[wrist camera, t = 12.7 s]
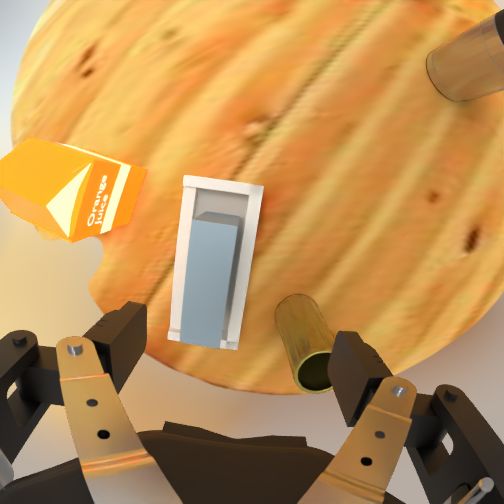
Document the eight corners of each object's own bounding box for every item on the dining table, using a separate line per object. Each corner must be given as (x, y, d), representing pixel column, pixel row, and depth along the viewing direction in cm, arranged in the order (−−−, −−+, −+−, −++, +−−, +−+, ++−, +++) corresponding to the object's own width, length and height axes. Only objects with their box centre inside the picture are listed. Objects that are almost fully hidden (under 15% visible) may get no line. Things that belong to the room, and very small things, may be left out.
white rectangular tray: (261, 186, 36) (263, 186, 32) (237, 334, 40) (237, 350, 36) (191, 176, 36) (184, 174, 31) (174, 324, 40) (167, 339, 35)
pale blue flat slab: (239, 216, 35) (237, 226, 26) (225, 309, 38) (219, 348, 28) (204, 211, 35) (189, 218, 25) (192, 304, 38) (177, 341, 28)
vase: (289, 286, 39) (313, 336, 25) (327, 305, 40) (363, 359, 26) (266, 323, 40) (277, 385, 26) (303, 340, 41) (327, 404, 27)
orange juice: (128, 224, 37) (36, 258, 17) (77, 203, 36) (-28, 220, 16) (148, 168, 35) (61, 151, 16) (94, 149, 35) (-8, 129, 15)
